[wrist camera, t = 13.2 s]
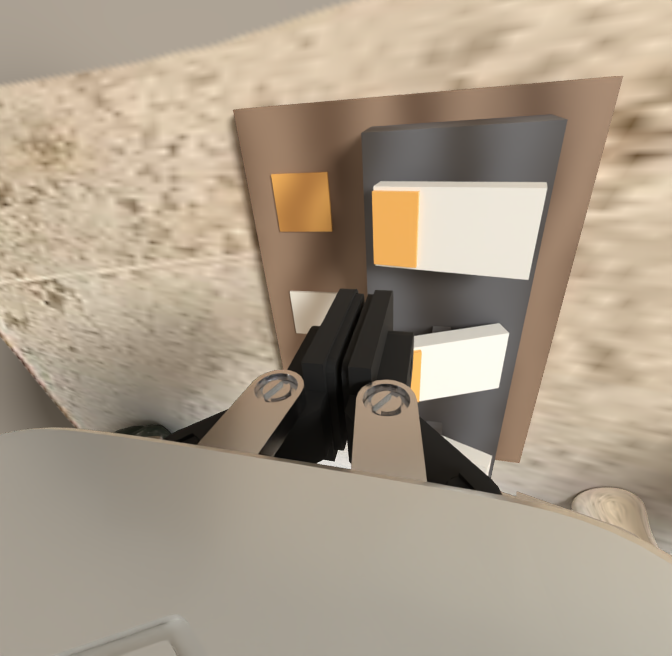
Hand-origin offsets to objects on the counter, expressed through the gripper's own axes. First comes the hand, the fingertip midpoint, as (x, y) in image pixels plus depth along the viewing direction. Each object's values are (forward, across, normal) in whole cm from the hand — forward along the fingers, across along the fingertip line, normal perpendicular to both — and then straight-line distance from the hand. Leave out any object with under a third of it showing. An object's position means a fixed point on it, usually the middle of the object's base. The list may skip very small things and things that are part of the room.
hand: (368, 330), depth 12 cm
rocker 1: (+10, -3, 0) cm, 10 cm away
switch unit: (+17, 0, +9) cm, 19 cm away
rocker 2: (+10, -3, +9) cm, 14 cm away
